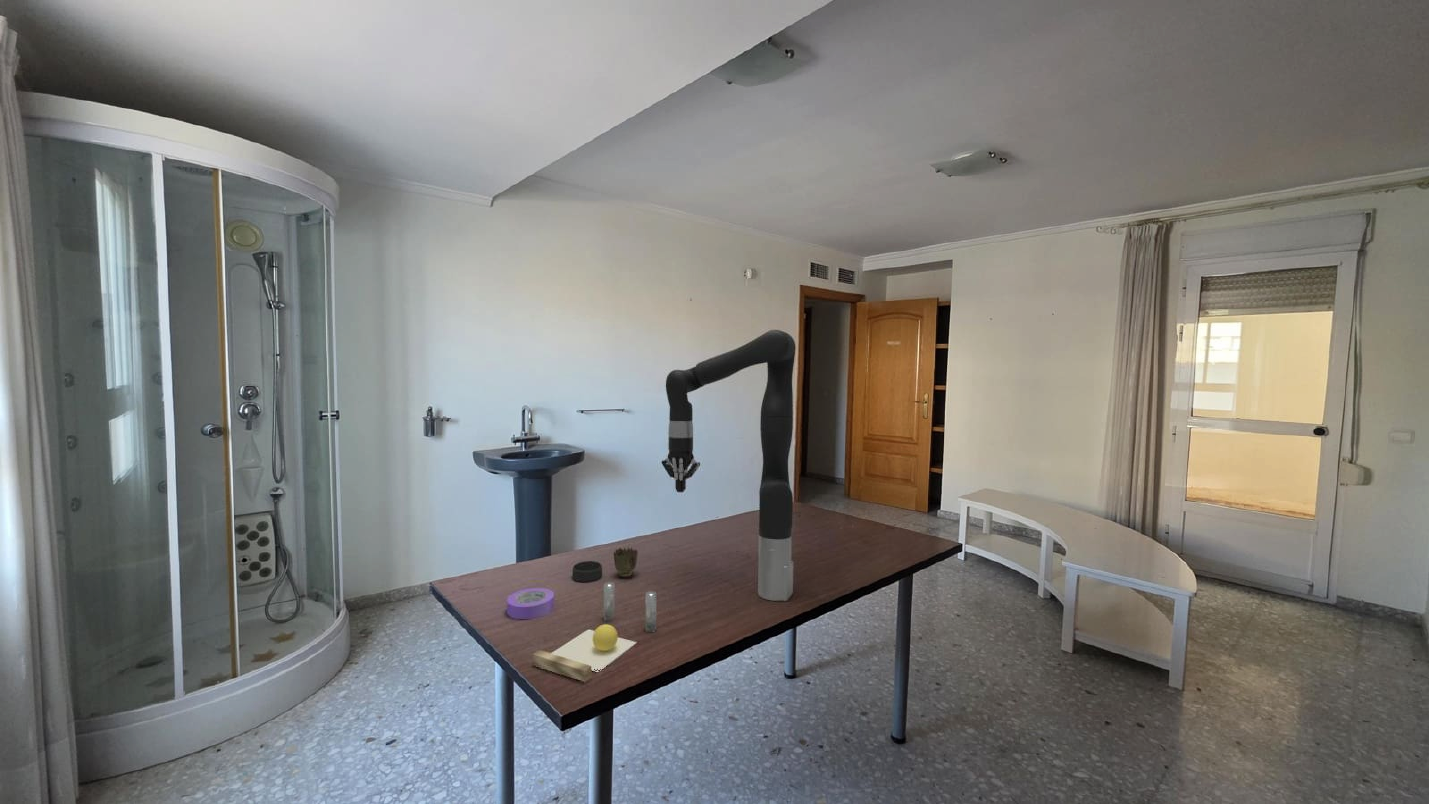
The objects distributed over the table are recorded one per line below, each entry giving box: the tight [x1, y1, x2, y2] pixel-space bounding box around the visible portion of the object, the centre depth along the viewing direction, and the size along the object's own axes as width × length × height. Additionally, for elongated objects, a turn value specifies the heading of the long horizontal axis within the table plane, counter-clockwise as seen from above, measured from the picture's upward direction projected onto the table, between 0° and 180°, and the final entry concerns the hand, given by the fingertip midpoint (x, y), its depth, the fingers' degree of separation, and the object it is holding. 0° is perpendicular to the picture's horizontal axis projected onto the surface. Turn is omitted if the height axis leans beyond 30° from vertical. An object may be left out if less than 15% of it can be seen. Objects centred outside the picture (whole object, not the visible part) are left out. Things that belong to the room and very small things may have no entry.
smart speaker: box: [572, 560, 603, 583], centre depth 160 cm, size 9×9×4 cm
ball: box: [593, 623, 619, 651], centre depth 116 cm, size 6×6×6 cm
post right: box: [644, 590, 657, 633], centre depth 126 cm, size 3×3×9 cm
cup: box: [612, 547, 638, 579], centre depth 160 cm, size 8×7×8 cm
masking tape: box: [506, 587, 555, 620], centre depth 136 cm, size 12×12×4 cm
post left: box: [603, 581, 615, 622], centre depth 131 cm, size 3×3×9 cm
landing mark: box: [550, 629, 637, 673], centre depth 116 cm, size 14×14×1 cm
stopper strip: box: [532, 649, 592, 682], centre depth 107 cm, size 14×2×2 cm, turn 64°
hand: (680, 491), depth 158 cm, fingers closed
